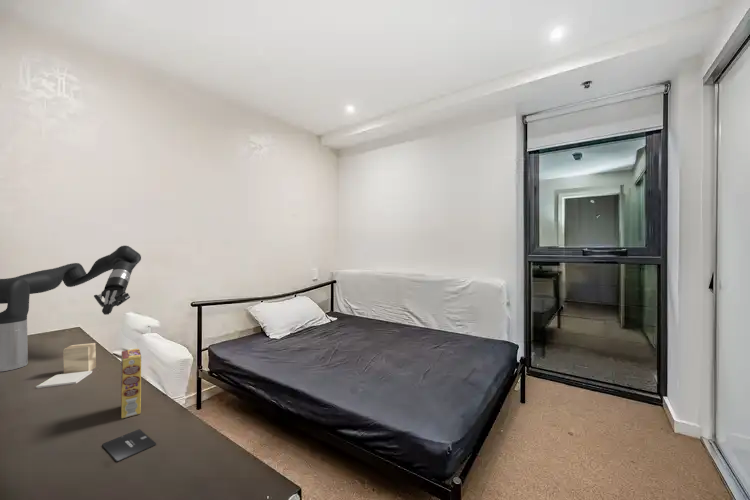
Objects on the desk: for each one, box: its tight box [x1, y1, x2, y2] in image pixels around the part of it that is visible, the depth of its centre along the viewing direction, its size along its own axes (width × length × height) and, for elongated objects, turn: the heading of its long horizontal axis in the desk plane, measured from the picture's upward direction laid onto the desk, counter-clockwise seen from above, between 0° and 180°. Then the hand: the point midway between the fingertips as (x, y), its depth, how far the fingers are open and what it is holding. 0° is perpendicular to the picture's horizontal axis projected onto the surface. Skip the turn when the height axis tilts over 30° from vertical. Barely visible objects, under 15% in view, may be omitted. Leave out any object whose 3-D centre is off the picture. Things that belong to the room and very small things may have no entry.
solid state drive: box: [102, 428, 157, 463], centre depth 69 cm, size 7×10×1 cm
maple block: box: [62, 342, 97, 374], centre depth 113 cm, size 5×7×9 cm
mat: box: [35, 370, 93, 389], centre depth 105 cm, size 10×10×1 cm
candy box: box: [120, 348, 142, 419], centre depth 85 cm, size 9×4×15 cm, turn 39°
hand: (105, 313), depth 132 cm, fingers closed
